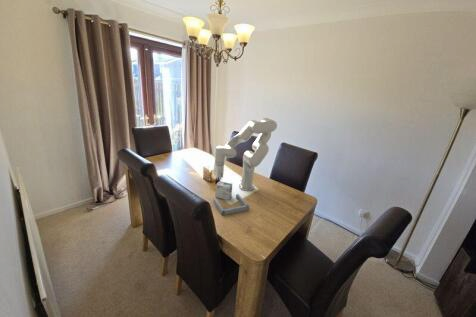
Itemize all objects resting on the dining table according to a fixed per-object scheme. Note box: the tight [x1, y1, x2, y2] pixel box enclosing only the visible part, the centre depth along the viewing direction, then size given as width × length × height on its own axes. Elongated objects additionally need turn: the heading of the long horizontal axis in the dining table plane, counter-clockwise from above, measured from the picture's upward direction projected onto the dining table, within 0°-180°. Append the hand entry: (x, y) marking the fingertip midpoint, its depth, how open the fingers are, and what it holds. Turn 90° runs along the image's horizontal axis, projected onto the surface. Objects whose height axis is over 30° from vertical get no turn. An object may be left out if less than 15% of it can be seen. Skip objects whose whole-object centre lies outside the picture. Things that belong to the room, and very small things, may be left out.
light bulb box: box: [215, 180, 233, 200], centre depth 151 cm, size 11×7×11 cm, turn 74°
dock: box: [212, 193, 250, 216], centre depth 141 cm, size 17×20×3 cm
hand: (217, 184), depth 160 cm, fingers closed
